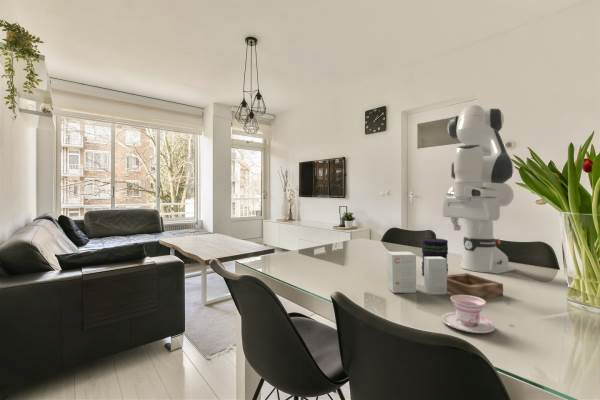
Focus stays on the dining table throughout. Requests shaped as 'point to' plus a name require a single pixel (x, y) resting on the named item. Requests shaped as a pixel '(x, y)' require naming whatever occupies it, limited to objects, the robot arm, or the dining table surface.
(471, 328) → the teacup
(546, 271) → the dining table surface
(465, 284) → the wooden tray
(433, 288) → the skincare box
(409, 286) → the small box
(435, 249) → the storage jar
